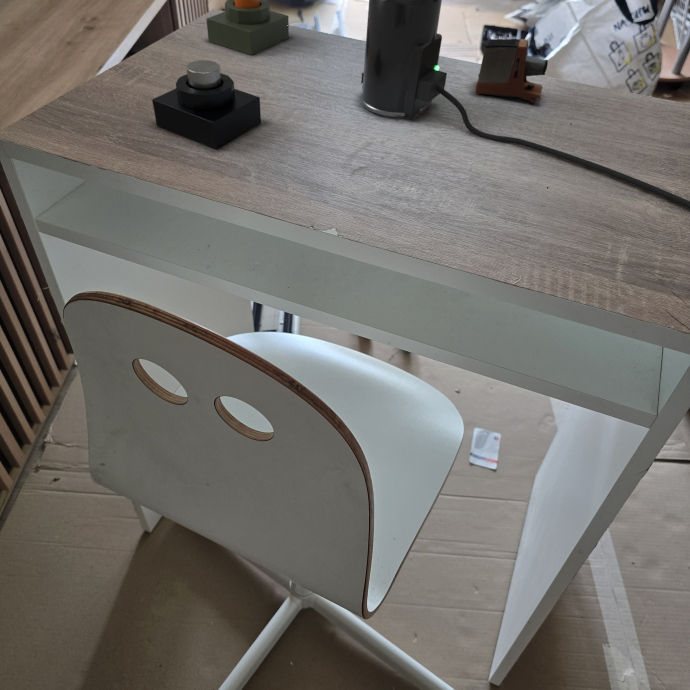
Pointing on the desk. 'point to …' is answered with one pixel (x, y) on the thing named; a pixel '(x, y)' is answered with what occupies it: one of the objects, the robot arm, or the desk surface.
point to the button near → (204, 75)
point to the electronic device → (509, 70)
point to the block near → (207, 112)
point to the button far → (247, 3)
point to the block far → (247, 27)
